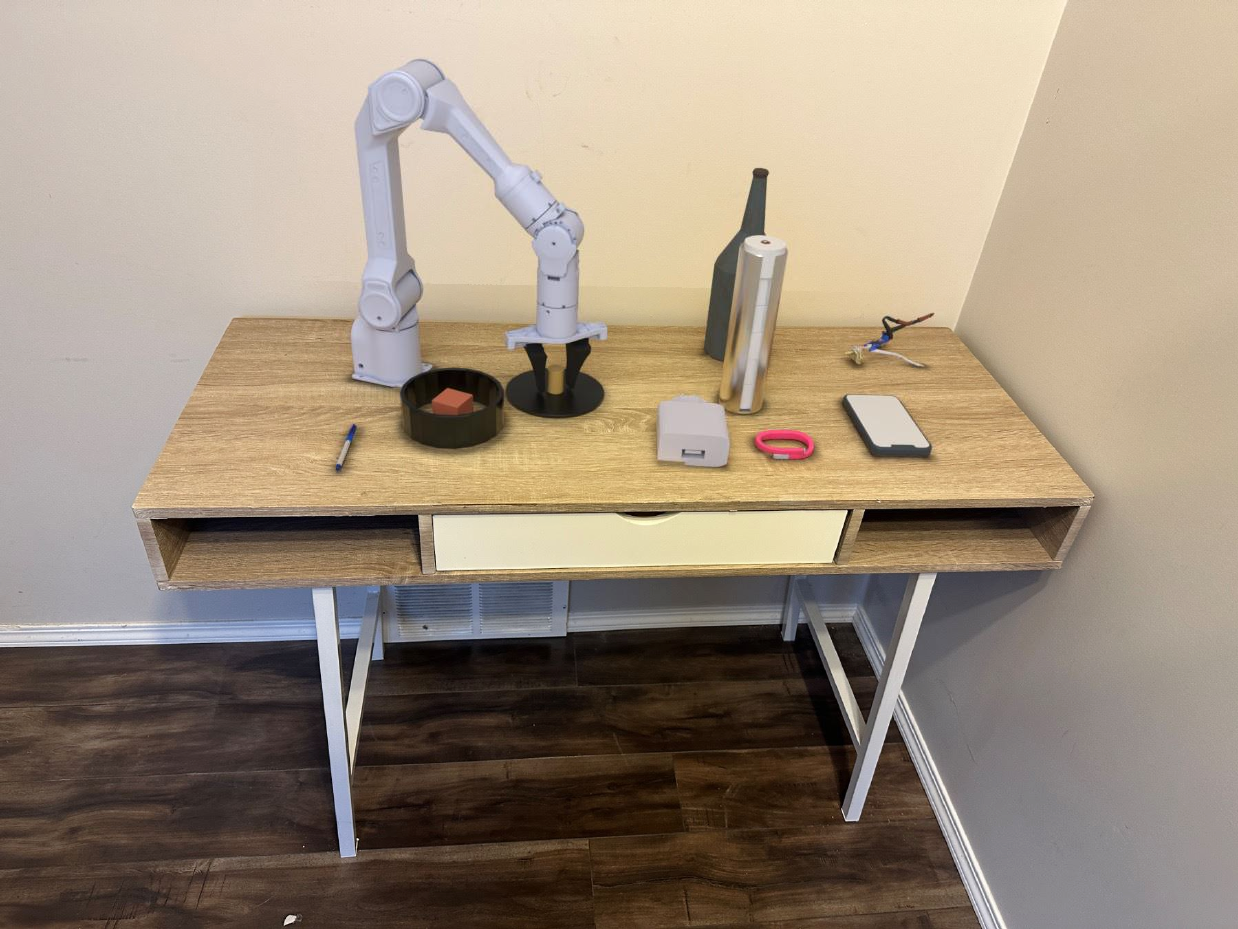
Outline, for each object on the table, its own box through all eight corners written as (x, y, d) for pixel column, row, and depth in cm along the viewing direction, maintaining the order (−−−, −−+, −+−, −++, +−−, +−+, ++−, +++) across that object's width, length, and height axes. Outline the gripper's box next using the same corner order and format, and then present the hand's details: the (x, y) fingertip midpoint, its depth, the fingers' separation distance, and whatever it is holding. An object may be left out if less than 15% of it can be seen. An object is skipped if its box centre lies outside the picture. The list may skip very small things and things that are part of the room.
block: (433, 426, 123) (431, 400, 121) (448, 412, 126) (447, 387, 124) (458, 433, 122) (457, 407, 120) (473, 419, 125) (472, 394, 123)
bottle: (775, 352, 149) (807, 169, 133) (749, 374, 142) (780, 183, 126) (719, 335, 154) (744, 155, 137) (692, 355, 147) (714, 168, 130)
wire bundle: (825, 389, 154) (925, 347, 157) (851, 398, 146) (955, 353, 149) (810, 333, 151) (912, 291, 154) (835, 338, 143) (943, 294, 146)
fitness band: (759, 459, 122) (760, 449, 121) (750, 436, 127) (752, 427, 126) (817, 460, 122) (819, 450, 122) (807, 437, 127) (809, 428, 126)
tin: (384, 439, 120) (381, 404, 117) (431, 393, 131) (429, 360, 128) (478, 461, 117) (477, 425, 114) (518, 412, 128) (518, 378, 125)
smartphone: (838, 402, 137) (870, 458, 124) (840, 393, 136) (873, 448, 123) (895, 403, 138) (933, 459, 124) (897, 394, 137) (936, 449, 123)
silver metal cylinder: (767, 399, 136) (795, 238, 122) (754, 418, 131) (781, 252, 117) (726, 389, 138) (749, 229, 124) (712, 407, 133) (734, 242, 119)
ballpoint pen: (350, 428, 122) (350, 421, 121) (357, 428, 122) (356, 422, 121) (335, 471, 113) (334, 465, 112) (342, 472, 113) (341, 465, 112)
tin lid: (489, 409, 128) (489, 380, 126) (527, 366, 140) (527, 339, 137) (585, 430, 125) (587, 401, 123) (616, 384, 137) (618, 356, 134)
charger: (717, 411, 132) (726, 467, 119) (654, 407, 132) (656, 463, 119) (721, 382, 129) (730, 437, 117) (657, 378, 129) (660, 433, 117)
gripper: (597, 285, 130) (593, 369, 137) (498, 293, 125) (500, 380, 132) (614, 304, 124) (609, 391, 132) (511, 314, 119) (512, 403, 127)
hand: (555, 387), depth 132 cm, fingers open, 4 cm apart
